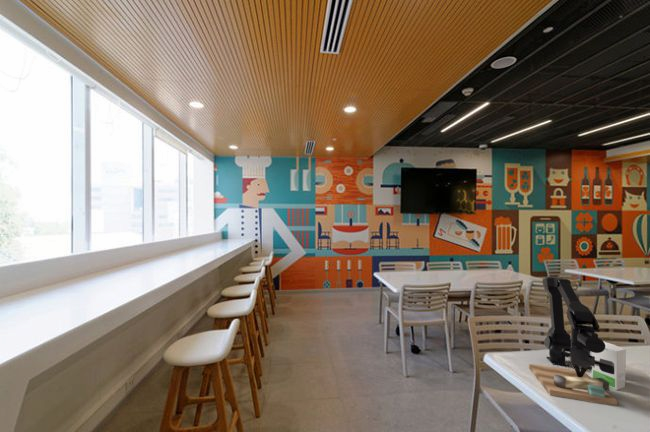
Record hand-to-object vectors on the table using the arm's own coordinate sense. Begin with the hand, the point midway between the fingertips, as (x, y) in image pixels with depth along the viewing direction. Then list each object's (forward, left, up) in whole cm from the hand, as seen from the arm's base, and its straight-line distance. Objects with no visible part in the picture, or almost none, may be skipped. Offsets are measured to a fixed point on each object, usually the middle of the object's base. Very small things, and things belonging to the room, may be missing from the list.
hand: (580, 380), depth 109 cm
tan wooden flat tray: (-1, -4, -3) cm, 5 cm away
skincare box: (-7, +13, -3) cm, 15 cm away
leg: (+3, -2, -1) cm, 4 cm away
